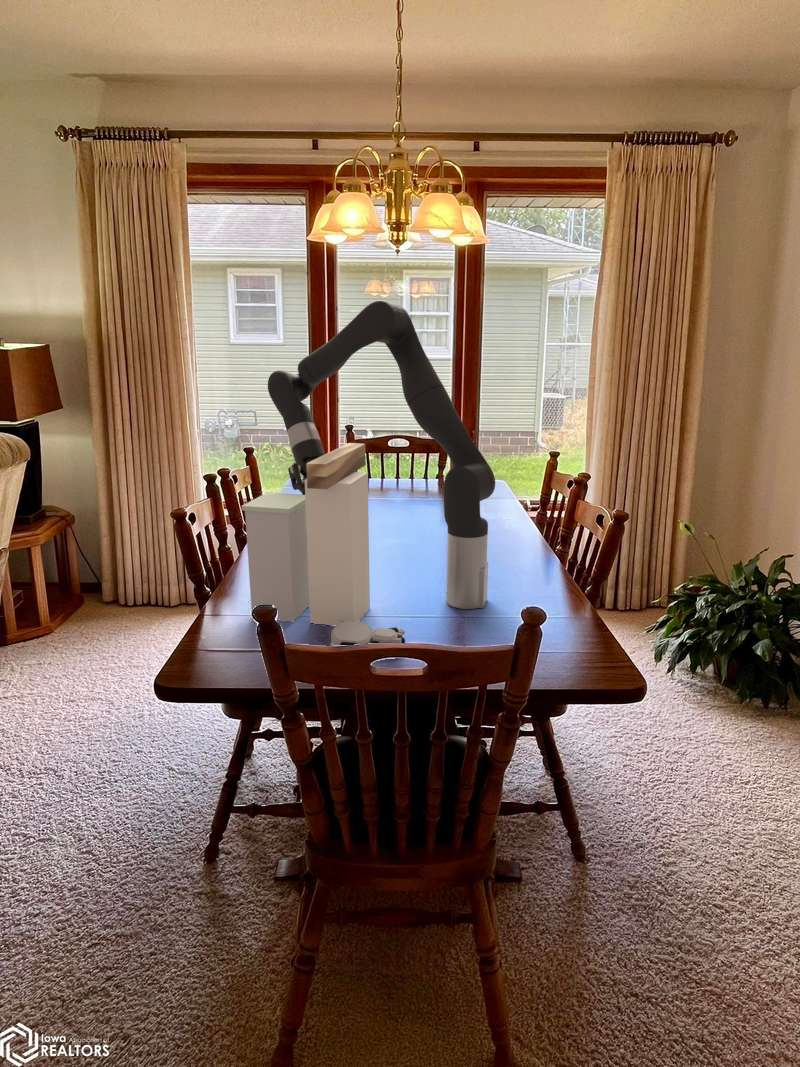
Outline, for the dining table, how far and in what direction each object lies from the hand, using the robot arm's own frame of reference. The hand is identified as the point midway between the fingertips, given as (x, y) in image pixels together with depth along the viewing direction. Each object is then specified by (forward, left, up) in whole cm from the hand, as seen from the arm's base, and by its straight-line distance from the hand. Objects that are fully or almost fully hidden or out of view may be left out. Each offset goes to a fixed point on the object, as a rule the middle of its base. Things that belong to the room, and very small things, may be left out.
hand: (324, 504), depth 172 cm
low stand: (+5, +15, -22) cm, 27 cm away
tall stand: (-9, +15, -22) cm, 28 cm away
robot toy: (-20, +30, -22) cm, 42 cm away
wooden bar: (-9, +14, +10) cm, 20 cm away
